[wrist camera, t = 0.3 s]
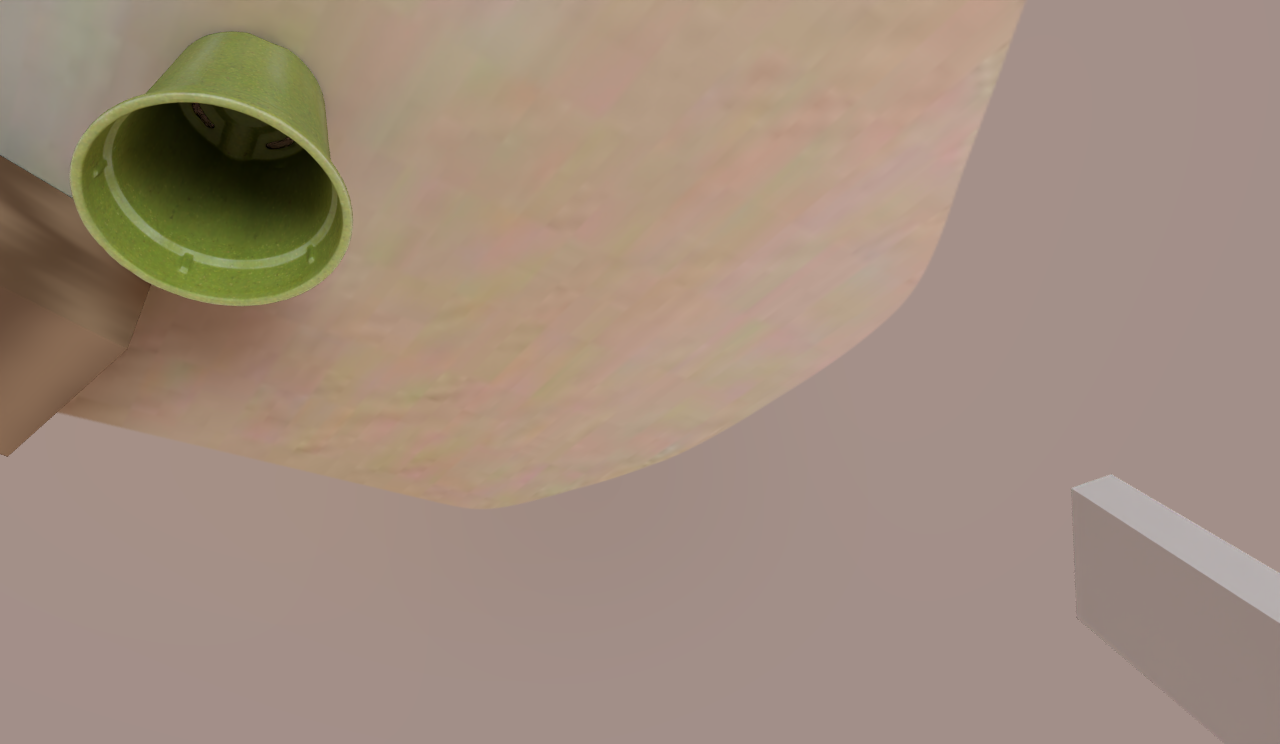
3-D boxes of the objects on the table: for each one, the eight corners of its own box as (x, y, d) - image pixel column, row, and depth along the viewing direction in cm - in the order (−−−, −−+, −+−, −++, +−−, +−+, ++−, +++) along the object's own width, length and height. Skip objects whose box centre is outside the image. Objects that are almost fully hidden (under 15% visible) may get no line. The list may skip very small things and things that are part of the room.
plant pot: (402, 150, 39) (396, 262, 33) (225, 214, 40) (189, 335, 34) (287, -45, 32) (254, 53, 27) (77, 38, 33) (0, 151, 27)
